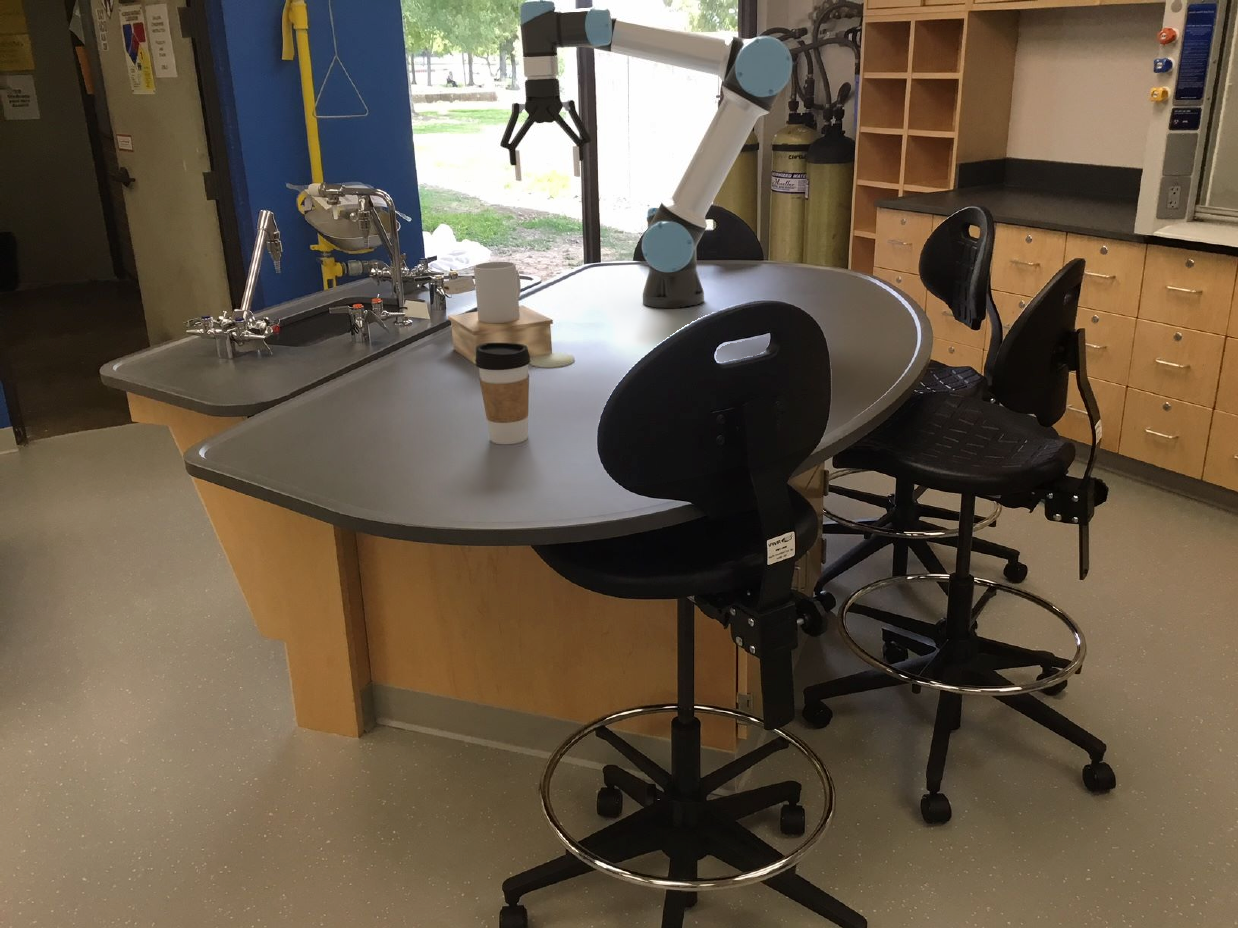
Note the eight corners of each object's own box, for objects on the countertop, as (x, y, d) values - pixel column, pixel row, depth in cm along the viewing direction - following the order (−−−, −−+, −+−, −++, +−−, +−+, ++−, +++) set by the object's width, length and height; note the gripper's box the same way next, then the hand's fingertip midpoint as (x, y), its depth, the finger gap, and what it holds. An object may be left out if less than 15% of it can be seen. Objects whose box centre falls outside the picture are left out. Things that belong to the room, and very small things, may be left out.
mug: (504, 325, 202) (499, 270, 198) (469, 321, 206) (464, 267, 202) (537, 312, 211) (533, 259, 207) (503, 309, 215) (499, 257, 211)
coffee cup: (483, 431, 164) (475, 340, 158) (535, 428, 164) (529, 337, 159) (481, 449, 156) (472, 354, 150) (536, 445, 156) (529, 351, 151)
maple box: (525, 337, 221) (523, 305, 219) (555, 354, 207) (553, 319, 204) (451, 349, 215) (448, 315, 212) (476, 367, 200) (473, 331, 198)
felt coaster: (568, 353, 207) (568, 351, 207) (579, 364, 199) (579, 362, 199) (525, 358, 205) (525, 356, 205) (534, 369, 197) (534, 367, 197)
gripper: (592, 76, 228) (596, 173, 235) (482, 81, 221) (490, 180, 229) (601, 75, 221) (605, 175, 229) (488, 80, 215) (496, 183, 222)
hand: (548, 178), depth 229 cm, fingers open, 13 cm apart
